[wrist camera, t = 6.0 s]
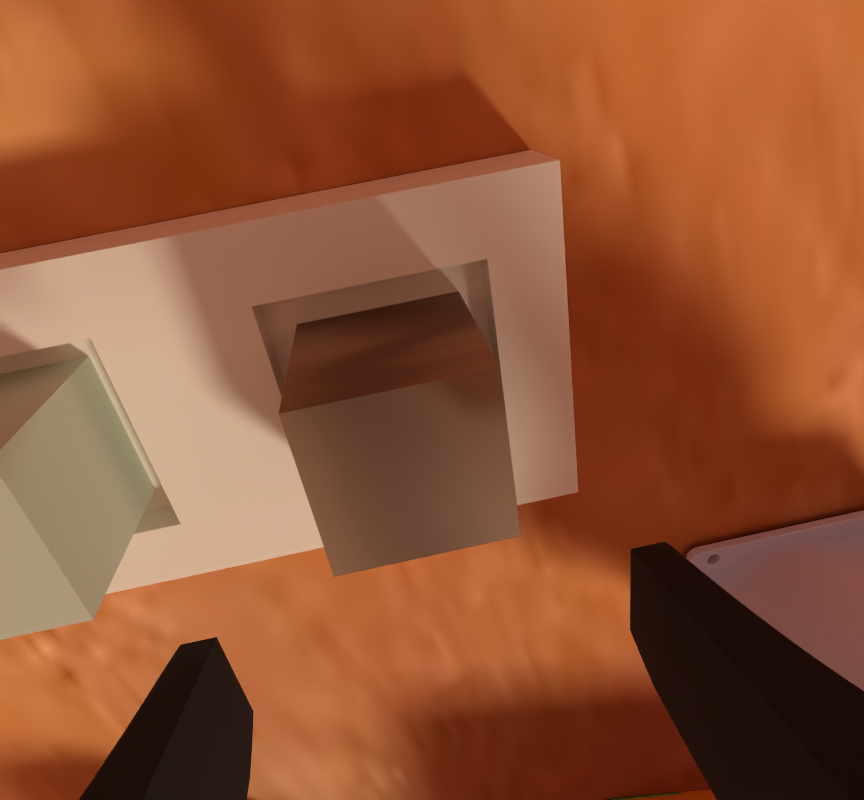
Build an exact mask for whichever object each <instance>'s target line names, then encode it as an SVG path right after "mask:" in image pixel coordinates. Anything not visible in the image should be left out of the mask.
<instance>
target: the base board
mask: <svg viewBox="0 0 864 800" xmlns="http://www.w3.org/2000/svg"><path fill="white" fill-rule="evenodd" d="M457 291H459V293H460V295H461V296H462V298H463V300H464V302H465V304H466V306H467V307H468V309H469V311H470V313H471V315H472V317H473V318H474V320H475V322H476V324H477V326H478V328H479V329H480V331H481V333H482V335H483V337H484V339H485V340H486V342H487V344H488V346H489V348H490V350H491V351H492V353H493V355H494V357H495V359H496V361H497V362H498V364H499V366H500V370H501V378H502V386H503V394H504V402H505V410H506V418H507V426H508V435H509V443H510V451H511V459H512V467H513V475H514V483H515V491H516V500H517V505H521V504H526V503H531V502H535V501H540V500H545V499H549V498H554V497H558V496H563V495H568V494H572V493H577V492H578V477H577V459H576V441H575V423H574V405H573V387H572V369H571V351H570V333H569V315H568V297H567V279H566V261H565V243H564V225H563V207H562V189H561V171H560V160H559V159H556V158H553V157H550V156H547V155H544V154H542V153H539V152H536V151H533V150H527V151H522V152H517V153H512V154H507V155H502V156H496V157H491V158H486V159H481V160H476V161H471V162H466V163H461V164H456V165H450V166H445V167H440V168H435V169H430V170H425V171H420V172H415V173H409V174H404V175H399V176H394V177H389V178H384V179H379V180H374V181H369V182H363V183H358V184H353V185H348V186H343V187H338V188H333V189H328V190H322V191H317V192H312V193H307V194H302V195H297V196H292V197H287V198H281V199H276V200H271V201H266V202H261V203H256V204H251V205H246V206H241V207H235V208H230V209H225V210H220V211H215V212H210V213H205V214H200V215H194V216H189V217H184V218H179V219H174V220H169V221H164V222H159V223H154V224H148V225H143V226H138V227H133V228H128V229H123V230H118V231H113V232H107V233H102V234H97V235H92V236H87V237H82V238H77V239H72V240H67V241H61V242H56V243H51V244H46V245H41V246H36V247H31V248H26V249H20V250H15V251H10V252H5V253H0V374H3V373H8V372H13V371H18V370H23V369H28V368H33V367H37V366H42V365H47V364H52V363H57V362H62V361H67V360H72V359H77V358H82V357H87V356H90V358H91V360H92V362H93V365H94V367H95V369H96V371H97V373H98V375H99V377H100V379H101V381H102V383H103V385H104V387H105V389H106V391H107V393H108V395H109V397H110V399H111V401H112V403H113V405H114V407H115V409H116V411H117V413H118V415H119V417H120V419H121V421H122V423H123V425H124V427H125V429H126V431H127V433H128V435H129V437H130V439H131V441H132V443H133V445H134V447H135V449H136V451H137V454H138V456H139V458H140V460H141V462H142V464H143V466H144V468H145V470H146V472H147V474H148V476H149V478H150V480H151V482H152V484H153V486H154V488H155V490H154V492H153V495H152V497H151V499H150V501H149V503H148V505H147V507H146V509H145V511H144V514H143V516H142V518H141V520H140V522H139V524H138V526H137V528H136V530H135V533H134V535H133V537H132V539H131V541H130V543H129V545H128V547H127V549H126V552H125V554H124V556H123V558H122V560H121V562H120V564H119V566H118V568H117V571H116V573H115V575H114V577H113V579H112V581H111V583H110V585H109V587H108V590H107V592H106V594H109V593H113V592H118V591H123V590H127V589H132V588H137V587H141V586H146V585H151V584H155V583H160V582H164V581H169V580H174V579H178V578H183V577H188V576H192V575H197V574H201V573H206V572H211V571H215V570H220V569H225V568H229V567H234V566H239V565H243V564H248V563H252V562H257V561H262V560H266V559H271V558H276V557H280V556H285V555H290V554H294V553H299V552H303V551H308V550H313V549H317V548H322V547H324V545H323V543H322V540H321V537H320V534H319V531H318V528H317V525H316V522H315V519H314V516H313V513H312V510H311V507H310V505H309V502H308V499H307V496H306V493H305V490H304V487H303V484H302V481H301V478H300V475H299V472H298V469H297V467H296V464H295V461H294V458H293V455H292V452H291V449H290V446H289V443H288V440H287V437H286V434H285V431H284V429H283V426H282V423H281V420H280V417H279V409H280V404H281V399H282V394H283V389H284V385H285V380H286V375H287V370H288V365H289V360H290V356H291V351H292V346H293V341H294V336H295V331H296V327H297V324H301V323H306V322H310V321H315V320H320V319H325V318H330V317H335V316H340V315H345V314H350V313H354V312H359V311H364V310H369V309H374V308H379V307H384V306H389V305H394V304H398V303H403V302H408V301H413V300H418V299H423V298H428V297H433V296H438V295H442V294H447V293H452V292H457Z"/></svg>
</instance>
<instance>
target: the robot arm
mask: <svg viewBox="0 0 864 800" xmlns="http://www.w3.org/2000/svg"><path fill="white" fill-rule="evenodd" d="M630 630H631V633H632V635H633V638H634V640H635V642H636V645H637V647H638V650H639V652H640V655H641V657H642V659H643V662H644V664H645V666H646V669H647V671H648V673H649V676H650V678H651V680H652V683H653V685H654V687H655V689H656V691H657V693H658V695H659V697H660V698H661V700H662V702H663V704H664V706H665V708H666V709H667V711H668V713H669V715H670V717H671V718H672V720H673V722H674V724H675V726H676V728H677V729H678V731H679V733H680V735H681V737H682V738H683V740H684V742H685V744H686V746H687V747H688V749H689V751H690V753H691V755H692V756H693V758H694V760H695V762H696V763H697V765H698V767H699V769H700V771H701V772H702V774H703V776H704V778H705V780H706V781H707V783H708V785H709V787H710V789H711V790H712V792H713V794H714V796H715V798H716V799H717V800H864V510H862V511H858V512H853V513H849V514H844V515H840V516H835V517H831V518H826V519H821V520H817V521H812V522H808V523H803V524H799V525H794V526H790V527H785V528H781V529H776V530H772V531H767V532H762V533H758V534H753V535H749V536H744V537H740V538H735V539H731V540H726V541H722V542H717V543H713V544H708V545H703V546H699V547H696V548H693V549H692V550H690V551H689V552H688V553H687V555H686V558H685V557H684V556H683V555H681V554H680V553H679V552H678V551H677V550H675V549H674V548H673V547H672V546H670V545H669V544H667V543H666V542H662V543H657V544H653V545H648V546H643V547H638V548H634V549H631V597H630ZM252 733H253V710H252V708H251V706H250V704H249V702H248V700H247V698H246V696H245V694H244V692H243V690H242V688H241V686H240V684H239V682H238V680H237V678H236V676H235V674H234V672H233V670H232V668H231V666H230V664H229V662H228V659H227V657H226V655H225V653H224V651H223V649H222V647H221V645H220V643H219V641H218V639H217V637H215V638H210V639H206V640H201V641H196V642H192V643H187V644H182V645H180V646H179V648H178V649H177V651H176V652H175V654H174V655H173V657H172V658H171V660H170V661H169V663H168V664H167V666H166V668H165V669H164V671H163V672H162V674H161V675H160V677H159V678H158V680H157V682H156V683H155V685H154V686H153V688H152V689H151V691H150V693H149V694H148V696H147V697H146V699H145V700H144V702H143V704H142V705H141V707H140V708H139V710H138V711H137V713H136V715H135V716H134V718H133V719H132V721H131V722H130V724H129V725H128V727H127V729H126V730H125V732H124V733H123V735H122V736H121V738H120V739H119V741H118V742H117V744H116V745H115V747H114V748H113V750H112V751H111V753H110V754H109V756H108V757H107V759H106V760H105V762H104V763H103V765H102V766H101V768H100V769H99V771H98V772H97V774H96V775H95V777H94V778H93V780H92V781H91V783H90V784H89V786H88V787H87V789H86V790H85V791H84V793H83V794H82V796H81V797H80V799H79V800H246V799H247V793H248V786H249V780H250V768H251V753H252Z"/></svg>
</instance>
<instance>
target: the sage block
mask: <svg viewBox="0 0 864 800" xmlns="http://www.w3.org/2000/svg"><path fill="white" fill-rule="evenodd" d="M154 490H155V488H154V486H153V484H152V482H151V480H150V478H149V476H148V474H147V472H146V470H145V468H144V466H143V464H142V462H141V460H140V458H139V456H138V454H137V451H136V449H135V447H134V445H133V443H132V441H131V439H130V437H129V435H128V433H127V431H126V429H125V427H124V425H123V423H122V421H121V419H120V417H119V415H118V413H117V411H116V409H115V407H114V405H113V403H112V401H111V399H110V397H109V395H108V393H107V391H106V389H105V387H104V385H103V383H102V381H101V379H100V377H99V375H98V373H97V371H96V369H95V367H94V365H93V362H92V360H91V358H90V356H87V357H82V358H77V359H72V360H67V361H62V362H57V363H52V364H47V365H42V366H37V367H33V368H28V369H23V370H18V371H13V372H8V373H3V374H0V640H2V639H7V638H11V637H16V636H21V635H25V634H30V633H34V632H39V631H44V630H48V629H53V628H57V627H62V626H67V625H71V624H76V623H80V622H85V621H90V620H93V619H94V617H95V615H96V613H97V611H98V609H99V606H100V604H101V602H102V600H103V598H104V596H105V594H106V592H107V590H108V587H109V585H110V583H111V581H112V579H113V577H114V575H115V573H116V571H117V568H118V566H119V564H120V562H121V560H122V558H123V556H124V554H125V552H126V549H127V547H128V545H129V543H130V541H131V539H132V537H133V535H134V533H135V530H136V528H137V526H138V524H139V522H140V520H141V518H142V516H143V514H144V511H145V509H146V507H147V505H148V503H149V501H150V499H151V497H152V495H153V492H154Z"/></svg>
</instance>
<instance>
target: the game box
mask: <svg viewBox="0 0 864 800" xmlns="http://www.w3.org/2000/svg"><path fill="white" fill-rule="evenodd" d="M610 800H717V799H716V798H715V796H714V794H713V792H712V790H711V789H703V790H693V791H684V792H676V793H667V794H657V795H647V796H639V797H629V798H619V799H610Z"/></svg>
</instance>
